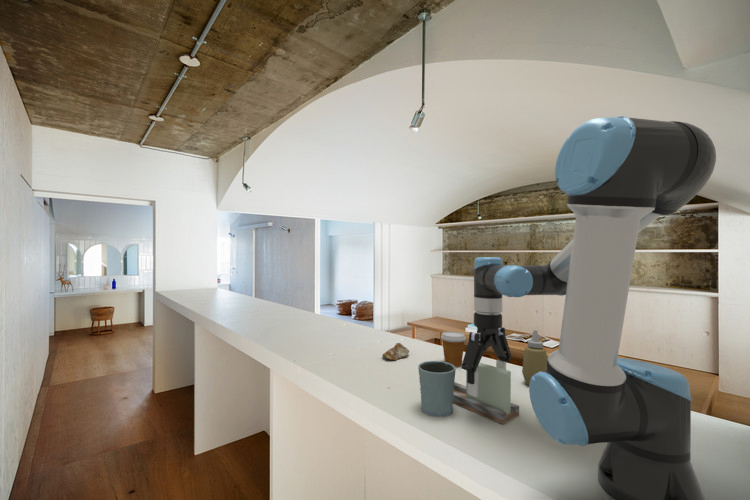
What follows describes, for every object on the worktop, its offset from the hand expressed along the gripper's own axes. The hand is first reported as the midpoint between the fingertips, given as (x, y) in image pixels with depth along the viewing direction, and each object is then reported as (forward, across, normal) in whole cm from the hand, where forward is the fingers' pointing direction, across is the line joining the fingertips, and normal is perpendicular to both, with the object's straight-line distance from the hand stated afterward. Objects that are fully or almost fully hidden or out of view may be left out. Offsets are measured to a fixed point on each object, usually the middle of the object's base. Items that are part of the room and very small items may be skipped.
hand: (487, 389), depth 95 cm
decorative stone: (+6, -13, -52) cm, 54 cm away
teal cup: (+6, +11, -9) cm, 15 cm away
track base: (+6, 0, -5) cm, 8 cm away
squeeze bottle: (+6, -29, -1) cm, 30 cm away
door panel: (+5, 0, 0) cm, 5 cm away
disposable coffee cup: (+6, -24, -31) cm, 40 cm away
